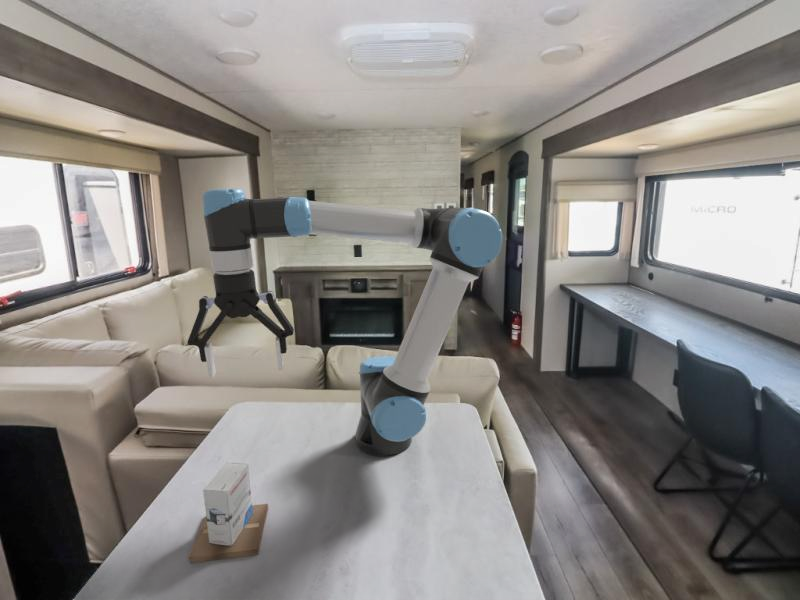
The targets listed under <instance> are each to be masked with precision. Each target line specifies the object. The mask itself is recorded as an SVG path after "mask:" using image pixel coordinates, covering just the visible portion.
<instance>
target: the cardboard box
mask: <svg viewBox="0 0 800 600" xmlns="http://www.w3.org/2000/svg"><path fill="white" fill-rule="evenodd" d="M252 510H253V514H252V515H251V517H250V518H249V520H248V522H247V523H246V525H245V526H244V528H243V529H242V531H241V533H240V534H239V536H238V537H237V539H236V540H235V542H234V544H233V545H231V546H228V545H219V544H213V543H209V535H208V527H207V518H206V515H205V516H204V519H203V521H202V524H201V527H200V529H199V530H198V533H197V536H196V539H195V541H194V543H193V546H192V548H191V551H190V554H189V556H188V561H189V563H190V564H192V563H198V562H199V563H201V562H209V561H216V560H223V559H232V558H241V557H247V556H249V557H250V556H257V555H259V553H260V548H261V544H262V540H263V534H264V530H265V526H266V521H267V516H268V511H269V504H268V503H261V504H252Z"/></svg>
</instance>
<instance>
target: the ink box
mask: <svg viewBox="0 0 800 600" xmlns="http://www.w3.org/2000/svg"><path fill="white" fill-rule="evenodd" d="M202 491H203V498H204V506H205V507H204V508H205V516H206V518H207V527H208V535H209V543H213V544H219V545H228V546H231V545H233V544H234V542H235V540H236V539H237V537H238V536H239V534H240V533H241V531H242V529H243V528H244V526H245V525H246V523H247V522H248V520H249V518H250V517H251V515H252V514H253V510H252V505H253V501H252V493H251V492H252V491H251V482H250V468H249V464H248V463H241V462H225V463H224V465H223V466H222V467H221V469H220V470H219V471H218V472H217V473H216V475H215V476H214V477H213V478H211V481H209V483H208V484H207V485H206V486H205V488H204V489H203V490H202Z"/></svg>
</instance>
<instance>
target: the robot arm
mask: <svg viewBox="0 0 800 600" xmlns="http://www.w3.org/2000/svg"><path fill="white" fill-rule="evenodd" d="M202 204H203V205H202V206H203V218H204V222H205V230H206V235H207V236H206V237H207V242H208V249H209V258H210V261H211V262H210V263H211V270H212V271H214V272H215V273H214V275H213V276H212V277H213V284H214V290H215V296H214V297H208V296H207V295H203V296H202V297H201V298H200V299H199V300H198V313H197V315H196V318H195V320H194V323H193V325H192V329H191V332H190V333H189V337H188V339H187V341H186V342H187V345H188V346H196V347H197V348H198V351H199V357H200V361H201V362H202V363H206V367H207V373H208V379H214V377H215V375H216V373H217V371H216V364H215V357H214V353H213V347H212V345H213V344H212V342H210V343H208V341H209V340H210V339H211V337H212V336H213V334H214V333H215V332H216V331H217V329H218V328H219V326H220V325H221V323H222V322H223V321H224V320H225V318H226V317H227V318H230V319H237V318H238V317H239V318H248V317H249V316H251V317H253V318H254V319H256V320H257V321H258V322H260V323H261V325H263V326H264V327H265V328H266V329H268V330H269V331H270V332H271V333H272V334H273V335H275V336H276V337H275V340H274V341H275V348H276V349H275V351H276V357H277V358H276V359H277V367H278V371H283V368H284V358H283V354H286V353H287V350H288V349H287V348H288V347H287V337H291V336H294V329H295V328H294V326H293V325H292V324H291V322H290V320H289V319H288V318H287V317H286V315H285V314H284V312H283V310H282V309H281V308H280V306H279V304H278V303H277V302H276V299H275V295H274V292H273V291H272V290H268V291H267V292H263V293H260V294H259V292H258V291H257V283H256V278H255V277H256V276H255V271H254V270H253V267H254V260H253V254H252V253H253V252H252V244H251V240H252V239H268V238H270V239H271V238H289V237H290V238H297V237H302V236H309V235H315V236H324V237H335V238H337V237H338V238H346V239H347V238H348V239H358V240H359V239H360V240H368V241H381V242H392V243H402V244H403V243H405V244H410V245H411V247H412V248H413V249H414V248H415V249H422V250H423V249H424V250H429V251H431V254H430V257H429V260H430V261H429V262H430V263H431V267H432V270H431V272H430V274H429V277H428V279H427V281H426V283H425V286H424V288H423V291H422V293H421V296H420V298H419V300H418V302H417V305H416V307H415V310H414V312H413V315H412V318H411V320H410V322H409V324H408V327H407V330H406V331H405V334H404V337H403V339H402V341H401V344H400V345H399V349H398V352H397V354H396V356H390V355H389V356H387V355H383V356H382V355H381V356H374V357H369V358H366V359H364V360H362V362H360V364H359V372H358V374H359V383H360V384H359V385H360V386H359V387H360V389H359V390H360V408H361V409H360V411H361V413H360V418H359V421H358V424H357V427H356V431H355V444H356V446H357V447H358V449H359V450H360V451H362V452H364V453H366V454H369V455H373V456H381V457H385V456H387V457H388V456H393V455H397V454H399V453H401V452H403V451H406V449H408V448H409V447H410V446H411V444H412V441H413V438H414V437H416V436H417V435H418V434H419V433H420V432H421V431H422V430H423V429H424V426H425V424H426V421H427V411H426V408H425V403H426V401H427V400H428V396H429V393H430V391H431V385H430V383H429V381H428V380H429V379H428V378H429V377H430V374H431V372H432V370H433V367H434V366H435V363H436V360H437V357H438V356H439V353H440V351H441V348H442V347H443V346H442V345H443V344H444V342H445V339H446V337H447V334H448V332H449V330H450V327H451V325H452V322H453V321H454V318H455V315H456V314H457V312H458V309H459V306H460V304H461V302H462V300H463V297H464V294H465V292H466V291H467V288H468V285H469V284H470V283H472V282H473V281H476V280H478V279H479V278H480V275H481V273H482V271H483V269H484V267H485V266H487V265H488V264H490V263H492V262H493V261H495V260H496V258H497V257H498V255H499V253H500V252H501V250H502V249H501V248H502V245H503V232H502V229H501V226H500V223H499V222H498V220H497V219H496V218H495V217H494V215H492V214H491V213H489V212H487V211H485V210H483V209H478V208H476V207H466V208H465V207H443V208H442V207H441V208H421V207H417V208H415V209H414V210H412V211H410V210H401V209H392V208H383V207H375V206H374V207H372V206H363V205H353V204H346V203H345V204H344V203H333V202H324V201H317V200H316V201H315V200H309V199H308V198H306V197H295V196H288V197H285V196H284V197H281V196H278V197H276V198H275V197H273V198H272V197H271V198H258V199H256V198H255V199H254V198H247V197H246V195H245V192H244V190H243V189H242V188H228V189H226V188H223V189H207V190H205V191H204V192H203V194H202ZM260 301H263V303H264V304H266V305H268V307H269V309H270V311H271V312H272V313H273V315H274V317H276V319H277V321H278V322H279V324H280V325H281V327H282V328H281V327H280V326H279V325H278V324H277V323H276V322H275V321H273V320H272V319H271V318H270V317H269V316H268V315H267V314H266V313H265V312H263V310H262V309H261V308H260V306H258V304H259V302H260ZM213 305H215V306H216V308H218V309H219V310H220V312H219V314H218V315H216V318H215V319H214V321H213V322H212V324H211V325H210V326H209V328H207V330H206V331H205V333H204V335H203V336H202V337H199V335H200V333H201V329H202V327H203V325H204V322H205V319H206V317H207V314H208V312H209V309H211V308H212V307H213Z"/></svg>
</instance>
